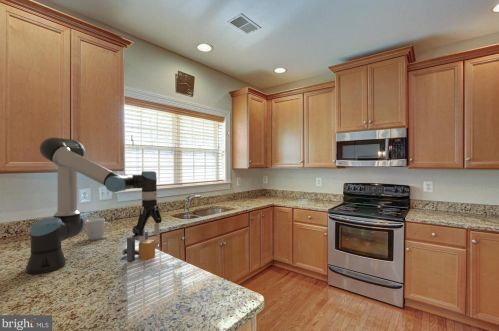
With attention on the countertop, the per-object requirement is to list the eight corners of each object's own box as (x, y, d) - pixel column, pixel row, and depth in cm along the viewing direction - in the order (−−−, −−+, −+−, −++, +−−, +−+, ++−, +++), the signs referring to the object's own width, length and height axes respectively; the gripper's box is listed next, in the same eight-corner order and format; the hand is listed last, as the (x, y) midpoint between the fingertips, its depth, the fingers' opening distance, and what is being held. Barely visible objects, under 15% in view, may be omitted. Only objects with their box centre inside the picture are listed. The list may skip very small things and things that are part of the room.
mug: (109, 234, 178) (109, 216, 178) (112, 238, 170) (112, 219, 169) (85, 238, 169) (85, 219, 169) (86, 242, 160) (87, 222, 160)
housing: (131, 262, 128) (131, 228, 128) (126, 261, 129) (126, 228, 129) (147, 252, 142) (147, 222, 142) (143, 252, 143) (143, 222, 143)
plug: (120, 257, 134) (120, 241, 134) (127, 254, 140) (128, 238, 140) (148, 260, 131) (148, 243, 131) (155, 256, 137) (155, 240, 137)
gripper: (141, 202, 121) (142, 245, 121) (167, 196, 146) (168, 232, 146) (127, 202, 122) (128, 245, 123) (156, 196, 147) (156, 231, 147)
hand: (150, 238), depth 134 cm, fingers open, 13 cm apart
